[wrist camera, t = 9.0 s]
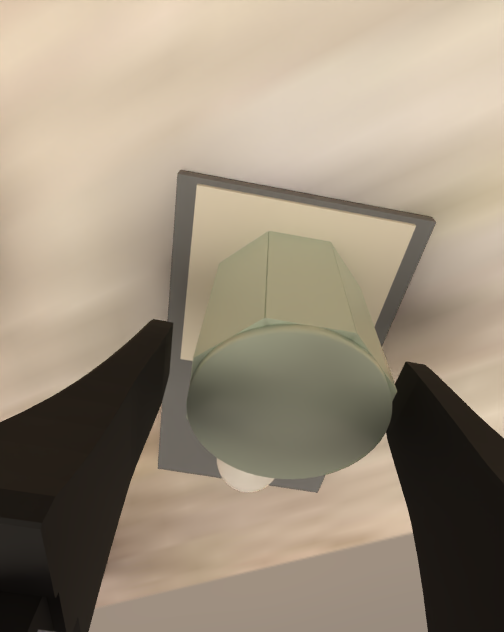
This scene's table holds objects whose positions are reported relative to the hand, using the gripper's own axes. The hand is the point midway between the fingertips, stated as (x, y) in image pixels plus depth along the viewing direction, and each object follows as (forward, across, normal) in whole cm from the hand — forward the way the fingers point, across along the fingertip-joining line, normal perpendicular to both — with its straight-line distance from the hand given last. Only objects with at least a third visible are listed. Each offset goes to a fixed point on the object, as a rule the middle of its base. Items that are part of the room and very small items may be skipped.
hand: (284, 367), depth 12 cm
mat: (+5, 0, +4) cm, 6 cm away
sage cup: (+4, 0, 0) cm, 4 cm away
